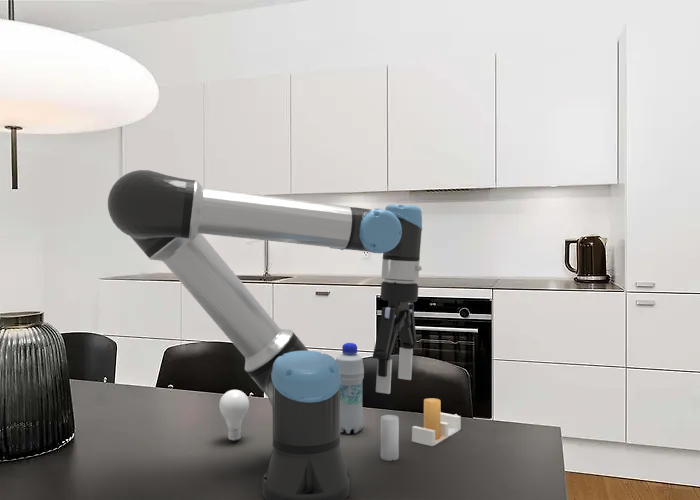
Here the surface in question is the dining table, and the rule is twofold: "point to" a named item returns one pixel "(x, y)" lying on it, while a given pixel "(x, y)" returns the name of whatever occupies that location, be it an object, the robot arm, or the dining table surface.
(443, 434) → the rack
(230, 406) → the lightbulb
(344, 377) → the bottle
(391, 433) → the grey plug
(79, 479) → the dining table surface
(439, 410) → the orange plug
